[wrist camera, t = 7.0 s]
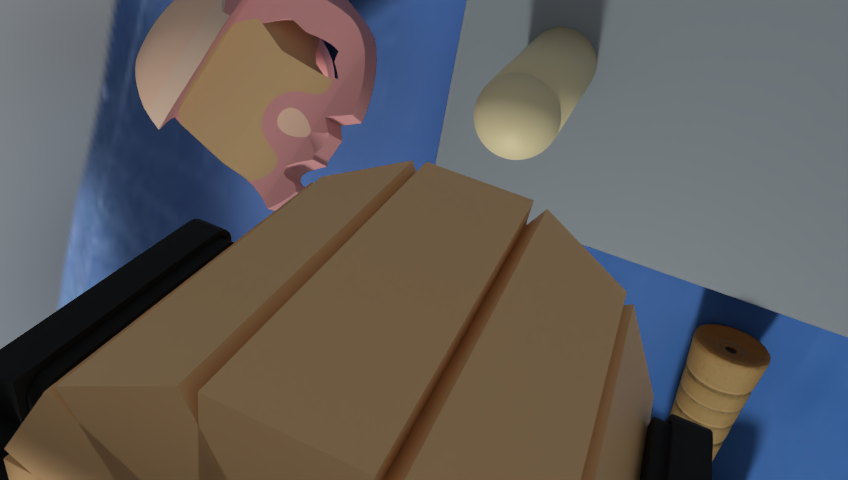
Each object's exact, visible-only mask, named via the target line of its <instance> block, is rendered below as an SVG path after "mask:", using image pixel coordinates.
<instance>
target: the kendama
mask: <svg viewBox="0 0 848 480" xmlns="http://www.w3.org/2000/svg"><path fill="white" fill-rule="evenodd" d="M769 363H770V354H769V353H768V351H767V349H766V348H765V347H764V346H763V345H762V344H761V343H760V342H759V341H758V340H757V339H755V338H754V337H752V336H750V335H749V334H747V333H745V332H743V331H740V330H738V329H736V328H732V327H729V326H725V325H719V324H705V325H701V326H699V327H698V328H696V330H695V332H694V335H693V338H692V342H691V346H690V350H689V353H688V357H687V363H686V365H685V367H684V371H683V374H682V377H681V381H680V384H679V387H678V390H677V393H676V397H675V400H674V403H673V406H672V409H671V412H670V415H671V414H674V415H677V416H679V417H682V418H684V419H686V420H689V421H691V422H694V423H696V424H699V425H701V426H703V427H706V428H708V429H711V430H712V432H713V454H712V461H713V460H714V458H715V456H716V454H717V452H718V451H719V449H720V447H721V445H722V443H723V441H724V439H725V438H726V436H727V435H728V433H729V431H730V429H731V427H732V425H733V423H734V422H735V420H736V419H737V417H738V415H739V413H740V412H741V410H742V408H743V406H744V405H745V403H746V401H747V399H748V398H749V396H750V394H751V391H752V390H753V389H754V388H755V386H756V384H757V383H758V381H759V380H760V378H761V376H762V375H763V373H764V372H765V370H766V368H767V367H768V365H769Z"/></svg>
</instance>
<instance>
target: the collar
mask: <svg viewBox="0 0 848 480" xmlns="http://www.w3.org/2000/svg"><path fill="white" fill-rule="evenodd" d="M533 202H534V200H532V199H529V198H526V197H523V196H521V195H518V194H515V193H512V192H509V191H507V190H504V189H501V188H498V187H495V186H493V185H490V184H487V183H484V182H481V181H479V180H476V179H473V178H470V177H467V176H465V175H462V174H459V173H456V172H453V171H451V170H448V169H445V168H442V167H439V166H437V165H434V164H431V163H428V162H426V163H425V164H424V165H423V166H422V167H421V168H420V169H419V170H418V171H417V172H416V170H415V167H414V164H413V161H407V162H401V163H396V164H390V165H385V166H379V167H374V168H368V169H363V170H357V171H352V172H346V173H341V174H335V175H330V176H324V177H321V178H319V179H318V180H317V181H316V182H314V183H310V184H309V185H308V186H306V187H305V188H304V189H303V190H301V191H300V192H299V193H297V194H296V195H295V196H294V197H292V198H291V199H290V200H288V201H287V202H286V203H285V204H283V205H282V206H281V207H280V208H278V209H277V210H276V211H274V212H273V213H272V214H271V215H269V216H268V217H267V218H265V219H264V220H263V221H262V222H260V223H259V224H258V225H257V226H255V227H254V228H253V229H251V230H250V231H249V232H248V233H246V234H245V235H244V236H242V237H241V238H240V239H239V240H237V241H236V242H235V243H233V244H232V245H231V246H230V247H228V248H227V249H226V250H225V251H223V252H222V253H221V254H219V255H218V256H217V257H216V258H214V259H213V260H212V261H210V262H209V263H208V264H207V265H205V266H204V267H203V268H201V269H200V270H199V271H198V272H196V273H195V274H194V275H193V276H191V277H190V278H189V279H187V280H186V281H185V282H184V283H182V284H181V285H180V286H178V287H177V288H176V289H175V290H173V291H172V292H171V293H170V294H168V295H167V296H166V297H164V298H163V299H162V300H161V301H159V302H158V303H157V304H155V305H154V306H153V307H152V308H150V309H149V310H148V311H146V312H145V313H144V314H143V315H141V316H140V317H139V318H138V319H136V320H135V321H134V322H132V323H131V324H130V325H129V326H127V327H126V328H125V329H123V330H122V331H121V332H120V333H118V334H117V335H116V336H114V337H113V338H112V339H111V340H109V341H108V342H107V343H106V344H104V345H103V346H102V347H100V348H99V349H98V350H97V351H95V352H94V353H93V354H91V355H90V356H89V357H88V358H86V359H85V360H84V361H82V362H81V363H80V364H79V365H77V366H76V367H75V368H74V369H72V370H71V371H70V372H68V373H67V374H66V375H65V376H63V377H62V378H61V379H59V380H58V381H57V382H56V383H54V384H53V385H52V386H51V387H49V388H48V389H47V390H45V391H44V393H43V394H42V396H41V397H40V398H39V400H38V401H37V403H36V404H35V406H34V407H33V408H32V410H31V411H30V413H29V414H28V416H27V417H26V418H25V420H24V421H23V423H22V424H21V426H20V427H19V428H18V430H17V431H16V433H15V434H14V436H13V437H12V438H11V440H10V441H9V443H8V444H7V446H6V447H5V448H4V449H5V450H6V451H7V452H8V453H9V455H7V456H6V457H5V458H4V459H3V460H4V463H5V467H6V471H7V475H8V478H9V480H640V473H641V467H642V460H643V454H644V447H645V441H646V434H647V427H648V425H649V423H650V418H651V412H652V404H653V397H654V396H653V391H652V387H651V382H650V377H649V373H648V368H647V364H646V359H645V354H644V350H643V345H642V341H641V336H640V331H639V327H638V322H637V318H636V313H635V308H634V305H624V301H625V297H626V293H627V292H626V291H625V290H624V289H623V288H622V287H621V286H620V284H619V283H618V282H617V281H616V280H615V279H614V278H613V277H612V276H611V275H610V274H609V273H608V272H607V271H606V270H605V269H604V268H603V267H602V266H601V265H600V264H599V262H598V261H597V260H596V259H595V258H594V257H593V256H592V255H591V254H590V253H589V252H588V251H587V250H586V249H585V248H584V247H583V246H582V245H581V244H580V243H579V242H578V241H577V239H576V238H575V237H574V236H573V235H572V234H571V233H570V232H569V231H568V230H567V229H566V228H565V227H564V226H563V225H562V224H561V223H560V222H559V221H558V220H557V219H556V217H555V216H554V215H553V214H552V213H551V212H550V211H549V210H548V209H547V210H545V211H544V212H543V213H541V214H540V215H539V216H537V217H536V218H535V219H534V220H532V221H531V222H530V223H528V224H527V225H526V223H527V220H528V217H529V214H530V211H531V208H532V205H533Z"/></svg>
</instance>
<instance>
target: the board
mask: <svg viewBox="0 0 848 480" xmlns="http://www.w3.org/2000/svg"><path fill="white" fill-rule="evenodd" d="M435 165H437V166H439V167H442V168H445V169H448V170H451V171H453V172H456V173H459V174H462V175H465V176H467V177H470V178H473V179H476V180H479V181H481V182H484V183H487V184H490V185H493V186H495V187H498V188H501V189H504V190H507V191H509V192H512V193H515V194H518V195H521V196H523V197H526V198H529V199H532V200H534V202H533V205H532V208H531V211H530V214H529V217H528V220H527V223H526V225H527V224H528V223H530V222H531V221H532V220H534V219H535V218H536V217H537V216H539V215H540V214H541V213H543V212H544V211H545V210H547V209H548V210H549V211H550V212H551V213H552V214H553V215H554V216H555V217H556V219H557V220H558V221H559V222H560V223H561V224H562V225H563V226H564V227H565V228H566V229H567V230H568V231H569V232H570V233H571V234H572V235H573V236H574V237H575V238H576V239H577V241H578V242H579V243H580V244H583V245H586V246H588V247H591V248H594V249H597V250H600V251H603V252H606V253H608V254H611V255H614V256H617V257H620V258H623V259H625V260H628V261H631V262H634V263H637V264H640V265H643V266H645V267H648V268H651V269H654V270H657V271H660V272H663V273H665V274H668V275H671V276H674V277H677V278H680V279H683V280H685V281H688V282H691V283H694V284H697V285H700V286H703V287H705V288H708V289H711V290H714V291H717V292H720V293H723V294H725V295H728V296H731V297H734V298H737V299H740V300H743V301H745V302H748V303H751V304H754V305H757V306H760V307H763V308H765V309H768V310H771V311H774V312H777V313H780V314H783V315H785V316H788V317H791V318H794V319H797V320H800V321H803V322H805V323H808V324H811V325H814V326H817V327H820V328H823V329H825V330H828V331H831V332H834V333H837V334H840V335H843V336H845V337H848V0H467V2H466V8H465V13H464V18H463V23H462V28H461V34H460V39H459V44H458V49H457V55H456V60H455V65H454V70H453V75H452V81H451V86H450V91H449V96H448V101H447V107H446V112H445V117H444V122H443V127H442V133H441V138H440V143H439V148H438V154H437V159H436V164H435Z"/></svg>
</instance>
